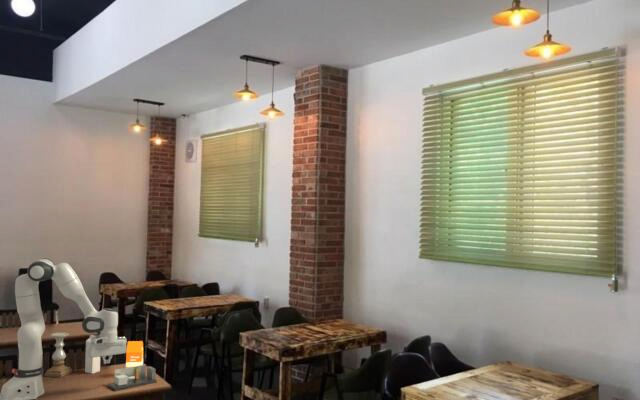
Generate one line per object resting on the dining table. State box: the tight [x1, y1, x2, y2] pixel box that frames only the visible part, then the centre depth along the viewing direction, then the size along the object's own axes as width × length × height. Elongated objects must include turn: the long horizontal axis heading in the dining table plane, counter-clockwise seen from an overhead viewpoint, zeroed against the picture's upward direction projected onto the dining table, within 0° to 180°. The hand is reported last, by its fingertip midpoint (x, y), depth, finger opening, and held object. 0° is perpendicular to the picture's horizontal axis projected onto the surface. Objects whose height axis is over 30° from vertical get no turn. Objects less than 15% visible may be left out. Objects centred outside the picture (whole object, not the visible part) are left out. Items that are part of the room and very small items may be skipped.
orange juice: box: [125, 340, 144, 368], centre depth 324 cm, size 8×9×20 cm
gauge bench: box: [107, 363, 158, 392], centre depth 306 cm, size 24×11×8 cm, turn 132°
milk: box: [84, 334, 101, 374], centre depth 328 cm, size 6×6×22 cm
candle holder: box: [44, 331, 73, 378], centre depth 321 cm, size 11×11×24 cm
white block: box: [115, 375, 135, 386], centre depth 303 cm, size 10×7×4 cm, turn 132°
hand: (106, 363), depth 296 cm, fingers closed
